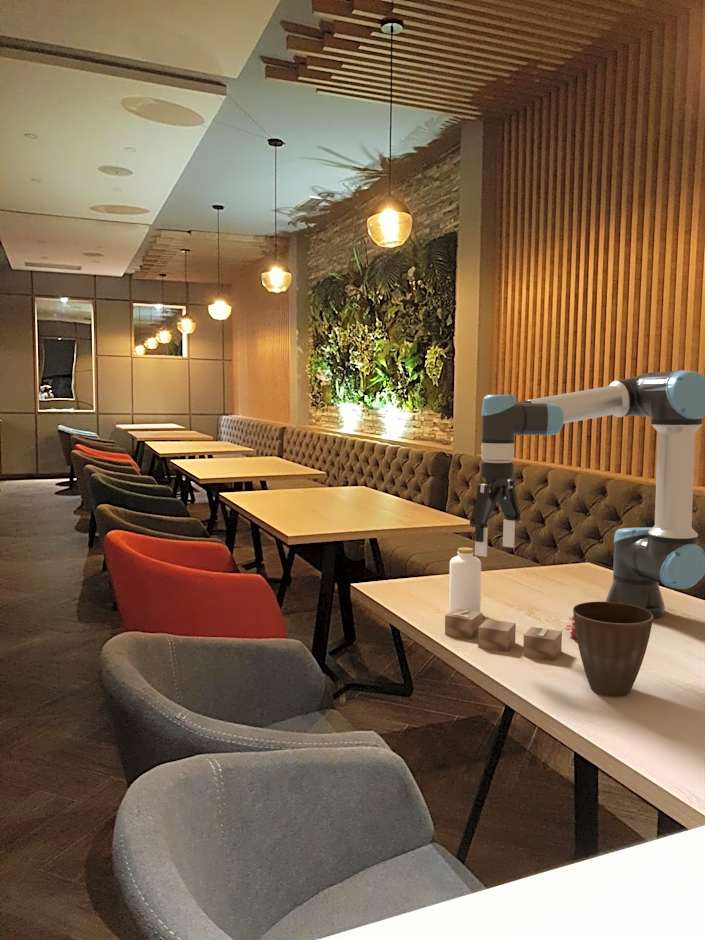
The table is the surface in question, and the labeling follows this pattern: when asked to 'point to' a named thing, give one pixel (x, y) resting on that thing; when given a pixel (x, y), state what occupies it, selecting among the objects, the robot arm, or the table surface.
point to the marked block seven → (463, 623)
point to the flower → (572, 627)
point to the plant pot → (612, 644)
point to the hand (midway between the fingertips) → (495, 551)
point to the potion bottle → (465, 581)
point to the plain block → (496, 635)
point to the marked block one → (542, 643)
